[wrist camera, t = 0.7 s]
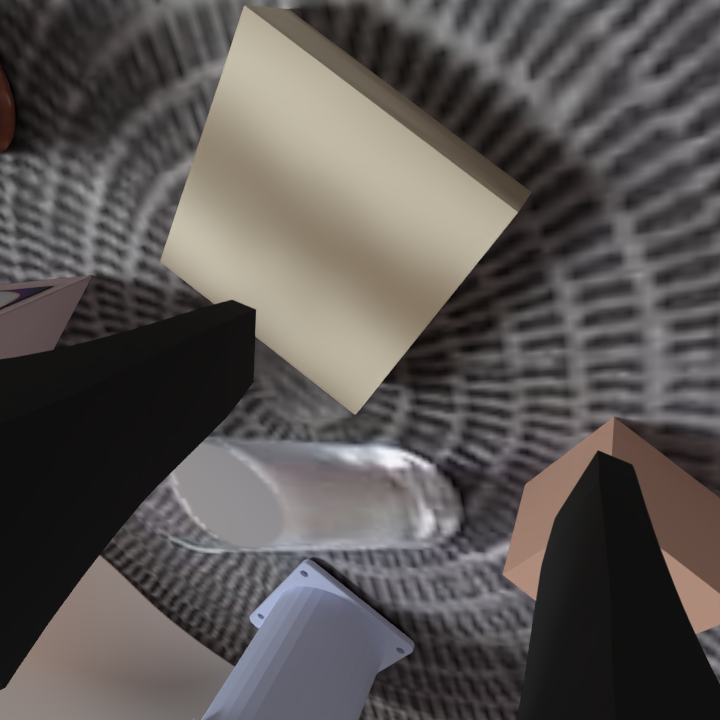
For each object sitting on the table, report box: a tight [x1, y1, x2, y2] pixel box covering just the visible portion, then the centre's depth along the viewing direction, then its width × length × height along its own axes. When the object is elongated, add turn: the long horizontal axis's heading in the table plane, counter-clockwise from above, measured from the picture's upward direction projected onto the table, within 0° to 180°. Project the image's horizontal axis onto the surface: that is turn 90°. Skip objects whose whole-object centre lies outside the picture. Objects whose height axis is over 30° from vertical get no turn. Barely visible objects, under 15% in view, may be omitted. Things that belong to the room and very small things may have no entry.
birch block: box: [160, 5, 532, 415], centre depth 20 cm, size 10×10×3 cm
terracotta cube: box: [503, 417, 720, 634], centre depth 20 cm, size 5×5×5 cm
